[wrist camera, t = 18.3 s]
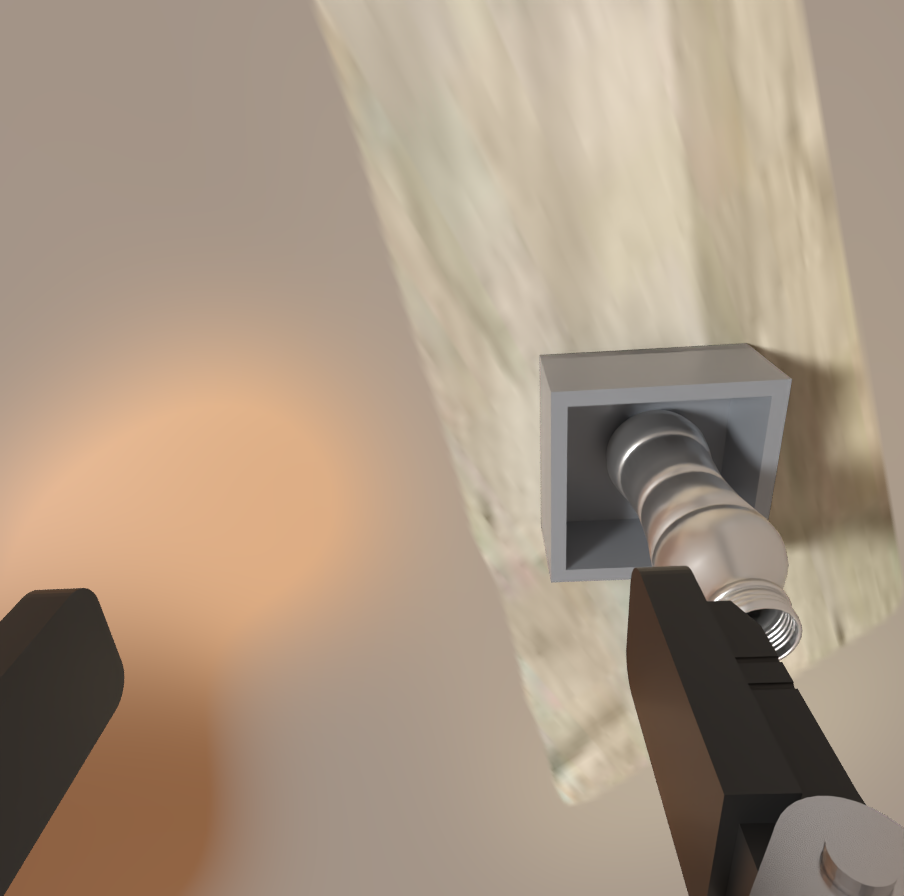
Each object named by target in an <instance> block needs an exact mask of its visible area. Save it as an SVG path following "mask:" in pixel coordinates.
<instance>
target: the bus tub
mask: <svg viewBox="0 0 904 896" xmlns="http://www.w3.org/2000/svg"><path fill="white" fill-rule="evenodd" d="M791 383H792V379H791V378H790V377H789V376H787V375H786V374H785V373H784V372H782V371H781V370H780V369H779V368H777V367H776V366H775V365H774V364H772V363H771V362H770V361H769V360H767V359H766V358H765V357H763V356H762V355H761V354H760V353H758V352H757V351H756V350H755V349H753V348H752V347H751V346H750V345H748V344H747V343H744V344H727V345H709V346H691V347H674V348H656V349H639V350H621V351H603V352H586V353H568V354H551V355H540V450H541V528H542V534H543V539H544V545H545V551H546V556H547V562H548V568H549V573H550V579H551V582H574V581H599V580H625V579H631V575H632V571H633V569H634V568H636V567H652V563H651V558H650V553H649V548H648V542H647V539H646V536H645V533H644V530H643V527H642V524H641V522H640V519H639V517H638V515H637V514H636V512H635V510H634V509H633V507H632V506H631V504H630V503H629V501H628V500H627V499H626V498H625V497H624V496H623V495H622V494H621V493H620V492H619V490H618V489H617V488H616V486H615V485H614V484H613V482H612V480H611V479H610V477H609V473H608V470H607V459H606V451H607V446H608V443H609V440H610V438H611V436H612V434H613V433H614V432H615V430H616V429H617V428H618V427H619V426H620V425H621V424H622V423H623V422H624V421H626V420H627V419H629V418H630V417H632V416H634V415H636V414H638V413H642V412H645V411H650V410H667V411H671V412H675V413H677V414H679V415H681V416H683V417H684V418H686V419H688V420H689V421H691V422H692V423H693V424H694V425H696V426H697V427H698V428H699V430H700V431H701V432H702V434H703V436H704V438H705V440H706V442H707V445H708V447H709V449H710V453H711V457H712V460H713V462H714V463H715V465H716V467H717V469H718V471H719V473H720V474H721V476H722V477H723V479H724V480H725V481H726V482H727V483H728V484H729V485H730V486H731V488H732V489H733V490H734V491H735V492H736V493H737V494H738V495H739V496H740V497H741V498H742V499H743V500H745V501H746V502H747V503H748V504H749V505H751V506H752V507H753V508H754V509H755V510H756V511H758V512H759V513H760V514H761V515H762V516H764V517H765V518H766V519H767V520H768V519H769V513H770V507H771V502H772V496H773V490H774V484H775V478H776V472H777V466H778V460H779V454H780V448H781V442H782V436H783V430H784V424H785V418H786V412H787V406H788V401H789V395H790V389H791Z"/></svg>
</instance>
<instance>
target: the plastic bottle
mask: <svg viewBox="0 0 904 896" xmlns="http://www.w3.org/2000/svg"><path fill="white" fill-rule="evenodd" d="M606 459H607V470H608V473H609V477H610V479H611V480H612V482H613V484H614V485H615V486H616V488H617V489H618V490H619V492H620V493H621V494H622V495H623V496H624V497H625V498H626V499H627V500H628V501H629V503H630V504H631V506H632V507H633V509H634V510H635V512H636V514H637V515H638V517H639V519H640V522H641V524H642V527H643V530H644V533H645V536H646V539H647V542H648V548H649V553H650V558H651V563H652V567H661V566H688V567H689V568H690V569H691V570H692V572H693V574H694V576H695V578H696V580H697V582H698V584H699V586H700V588H701V590H702V592H703V594H704V596H705V598H706V600H707V601H728V600H731V601H732V602H733V603H734V604H735V605H737V606H738V607H739V608H740V609H742V610H743V611H744V612H745V613H746V614H748V615H749V616H750V617H751V618H752V619H754V620H755V621H756V622H757V623H758V624H760V625H761V627H762V628H763V630H764V632H765V634H766V635H767V637H768V639H769V641H770V642H771V644H772V646H773V647H774V649H775V651H776V653H777V654H778V659H779V661H780V660H782V659H783V658H785V657H786V656H788V655H789V654H790V653H791V652H792V651H793V650H794V649H795V648H796V646H797V645H798V644H799V642H800V639H801V637H802V625H801V623H800V620H799V617H798V615H797V614H796V612H795V611H794V609H793V608H792V603H791V601H790V599H789V597H788V596H787V594H786V592H785V591H784V590H783V587H784V584H785V581H786V577H787V574H788V566H789V564H788V557H787V552H786V548H785V544H784V541H783V539H782V537H781V535H780V533H779V532H778V531H777V530H776V528H775V527H774V526H773V525H772V524H771V523H770V522H769V521H768V520H767V519H766V518H765V517H764V516H762V515H761V514H760V513H759V512H758V511H756V510H755V509H754V508H753V507H752V506H751V505H749V504H748V503H747V502H746V501H745V500H743V499H742V498H741V497H740V496H739V495H738V494H737V493H736V492H735V491H734V490H733V489H732V488H731V486H730V485H729V484H728V483H727V482H726V481H725V480H724V479H723V477H722V476H721V474H720V473H719V471H718V469H717V467H716V465H715V463H714V462H713V460H712V457H711V453H710V449H709V447H708V445H707V442H706V440H705V438H704V436H703V434H702V432H701V431H700V430H699V428H698V427H697V426H696V425H694V424H693V423H692V422H691V421H689V420H688V419H686V418H684V417H683V416H681V415H679V414H677V413H675V412H671V411H667V410H650V411H645V412H642V413H638V414H636V415H634V416H632V417H630V418H629V419H627V420H626V421H624V422H623V423H622V424H621V425H620V426H619V427H618V428H617V429H616V430H615V432H614V433H613V434H612V436H611V438H610V440H609V443H608V446H607V451H606Z"/></svg>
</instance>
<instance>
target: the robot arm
mask: <svg viewBox="0 0 904 896" xmlns="http://www.w3.org/2000/svg"><path fill="white" fill-rule="evenodd" d="M626 658H627V671H628V679H629V685H630V690H631V694H632V697H633V701H634V705H635V708H636V712H637V715H638V719H639V722H640V726H641V729H642V733H643V736H644V740H645V743H646V747H647V750H648V754H649V757H650V761H651V764H652V768H653V771H654V775H655V778H656V782H657V785H658V789H659V792H660V796H661V799H662V803H663V807H664V810H665V814H666V817H667V820H668V824H669V828H670V831H671V835H672V838H673V842H674V845H675V849H676V852H677V856H678V859H679V862H680V866H681V869H682V874H683V877H684V880H685V884H686V888H687V891H688V894H689V896H904V828H903V827H902V826H901V825H900V824H898V823H897V822H895V821H894V820H892V819H891V818H889V817H888V816H886V815H885V814H883V813H881V812H879V811H877V810H875V809H873V808H871V807H868V806H867V805H866V804H865V803H864V801H863V800H862V798H861V797H860V795H859V794H858V792H857V791H856V789H855V787H854V785H853V784H852V782H851V780H850V778H849V777H848V775H847V773H846V771H845V770H844V768H843V766H842V765H841V763H840V761H839V759H838V758H837V756H836V754H835V753H834V751H833V749H832V747H831V746H830V744H829V742H828V740H827V739H826V737H825V735H824V734H823V732H822V730H821V728H820V727H819V725H818V723H817V722H816V720H815V718H814V716H813V715H812V713H811V711H810V710H809V708H808V706H807V705H806V703H805V701H804V699H803V697H802V696H801V694H800V692H799V690H798V689H795V688H794V684H793V680H792V678H791V677H790V675H789V673H788V672H787V670H786V668H785V666H784V665H783V663H782V662H779V659H778V654H777V653H776V651H775V649H774V647H773V646H772V644H771V642H770V641H769V639H768V637H767V635H766V634H765V632H764V630H763V628H762V627H761V625H760V624H758V623H757V622H756V621H755V620H754V619H752V618H751V617H750V616H749V615H748V614H746V613H745V612H744V611H743V610H742V609H740V608H739V607H738V606H737V605H735V604H734V603H733V602H732V601H731V600H728V601H707V600H706V598H705V596H704V594H703V592H702V590H701V588H700V586H699V584H698V582H697V580H696V578H695V576H694V574H693V572H692V570H691V569H690V568H689V567H688V566H661V567H636V568H634V569H633V571H632V575H631V584H630V600H629V616H628V631H627V648H626ZM123 687H124V669H123V664H122V661H121V659H120V656H119V653H118V651H117V648H116V645H115V643H114V640H113V638H112V635H111V632H110V630H109V627H108V624H107V622H106V619H105V616H104V614H103V611H102V609H101V606H100V604H99V601H98V599H97V597H96V595H95V594H94V593H93V592H92V591H91V590H89V589H86V588H76V589H53V590H34V591H32V592H30V593H28V594H26V595H25V596H24V597H23V598H22V599H21V600H20V601H19V602H18V603H17V604H16V605H15V607H14V608H13V609H12V610H11V611H10V612H9V613H8V614H7V615H6V616H5V617H4V618H3V620H1V621H0V896H4V894H5V892H6V891H7V889H8V888H9V886H10V884H11V883H12V881H13V879H14V878H15V876H16V874H17V873H18V871H19V869H20V868H21V866H22V864H23V863H24V861H25V859H26V858H27V856H28V854H29V853H30V851H31V850H32V848H33V846H34V844H35V843H36V841H37V839H38V838H39V836H40V834H41V833H42V831H43V829H44V828H45V826H46V825H47V823H48V821H49V820H50V818H51V816H52V815H53V813H54V811H55V810H56V808H57V806H58V805H59V803H60V801H61V800H62V798H63V797H64V795H65V793H66V792H67V790H68V788H69V787H70V785H71V783H72V782H73V780H74V778H75V777H76V775H77V773H78V771H79V770H80V768H81V767H82V765H83V763H84V762H85V760H86V758H87V757H88V755H89V753H90V752H91V750H92V748H93V747H94V745H95V744H96V742H97V740H98V738H99V737H100V735H101V734H102V732H103V730H104V729H105V727H106V725H107V724H108V722H109V720H110V719H111V717H112V715H113V713H114V712H115V710H116V709H117V707H118V705H119V702H120V700H121V696H122V692H123Z"/></svg>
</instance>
